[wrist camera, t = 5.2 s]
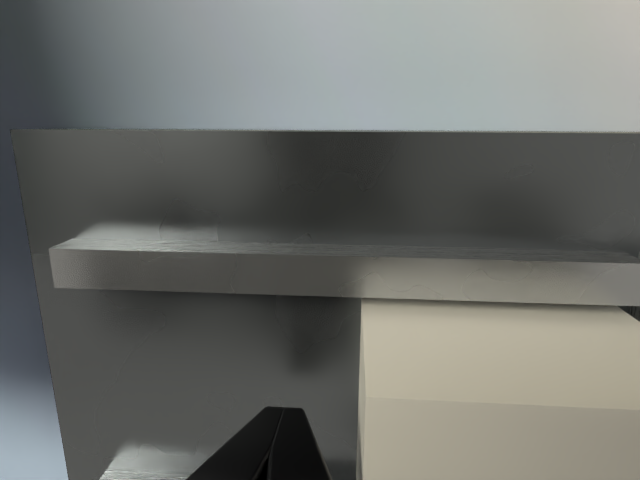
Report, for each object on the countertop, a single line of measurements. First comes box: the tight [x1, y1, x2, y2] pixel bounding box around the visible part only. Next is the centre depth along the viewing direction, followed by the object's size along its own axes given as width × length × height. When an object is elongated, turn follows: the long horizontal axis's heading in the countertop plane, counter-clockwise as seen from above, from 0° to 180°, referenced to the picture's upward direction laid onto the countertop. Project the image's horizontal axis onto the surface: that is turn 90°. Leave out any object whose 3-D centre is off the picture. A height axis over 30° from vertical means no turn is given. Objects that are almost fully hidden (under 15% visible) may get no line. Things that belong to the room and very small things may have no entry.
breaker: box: [356, 298, 640, 480], centre depth 8 cm, size 5×4×4 cm
